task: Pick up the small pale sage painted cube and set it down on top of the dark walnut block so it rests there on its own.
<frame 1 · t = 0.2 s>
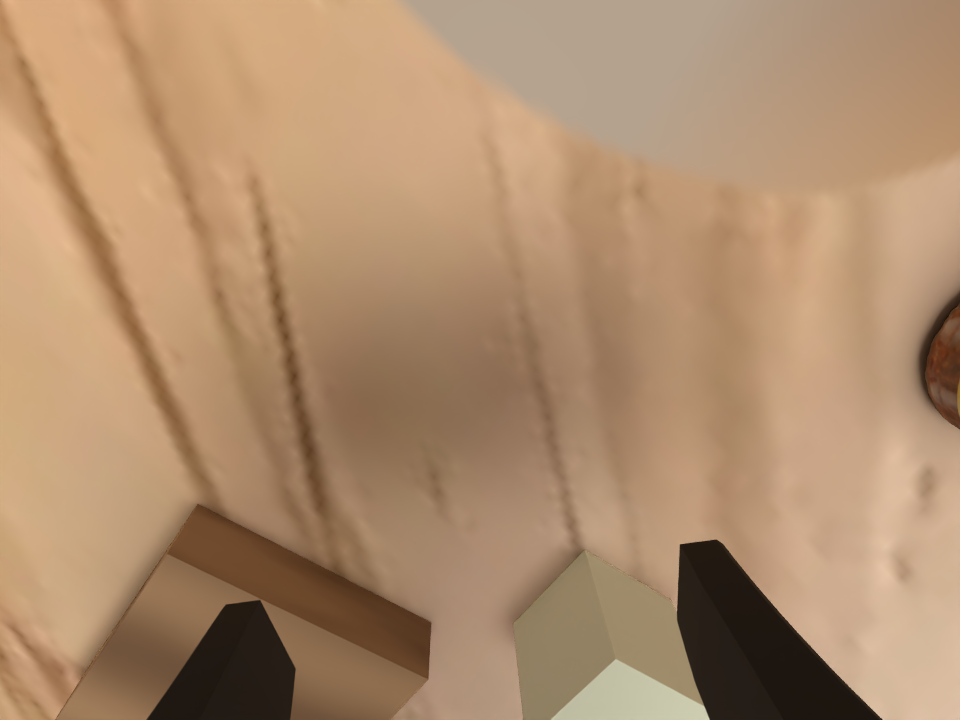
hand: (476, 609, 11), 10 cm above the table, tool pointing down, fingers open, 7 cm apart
walnut block: (259, 639, 25), on the table
sage cube: (591, 611, 25), on the table
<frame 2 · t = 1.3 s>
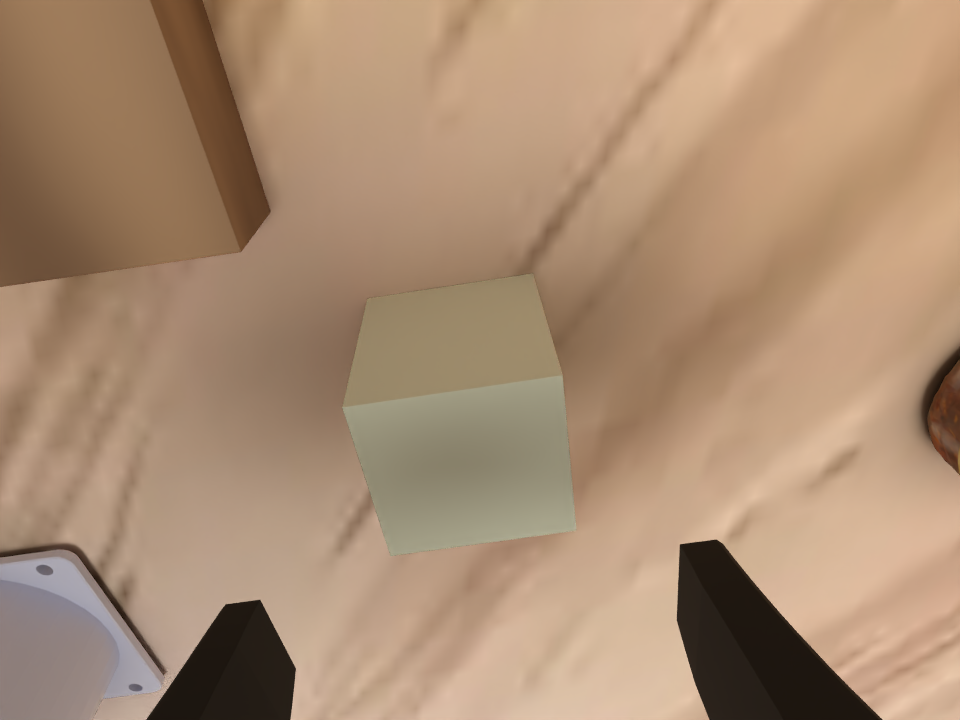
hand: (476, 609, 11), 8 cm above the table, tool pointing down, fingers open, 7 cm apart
sage cube: (462, 355, 18), on the table
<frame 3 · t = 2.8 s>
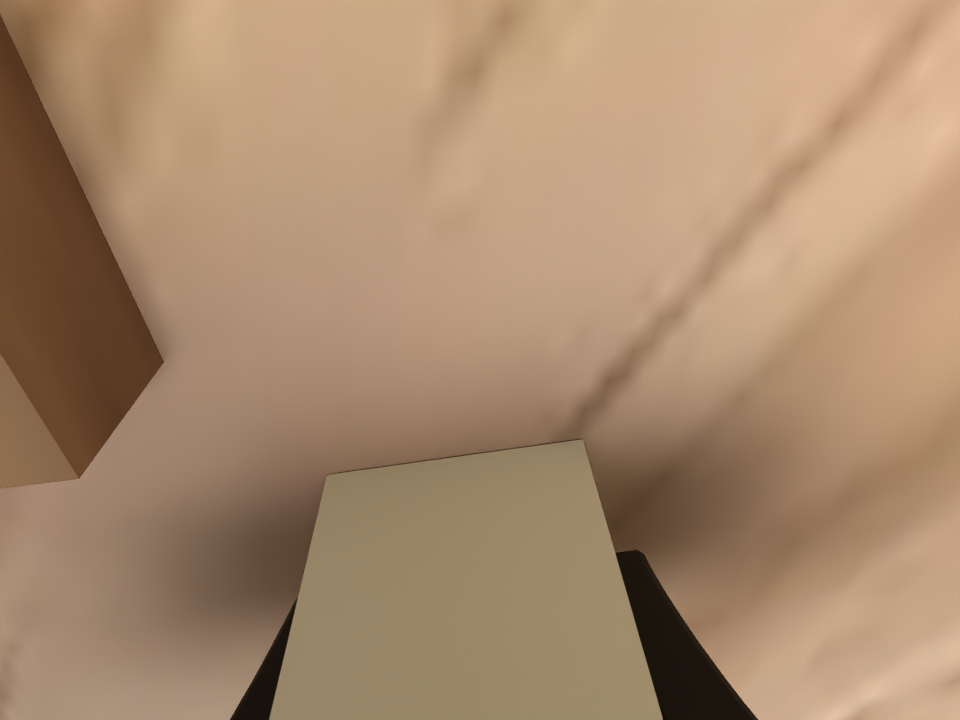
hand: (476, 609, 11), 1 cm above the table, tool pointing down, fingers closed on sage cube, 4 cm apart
sage cube: (472, 545, 12), on the table, touching gripper
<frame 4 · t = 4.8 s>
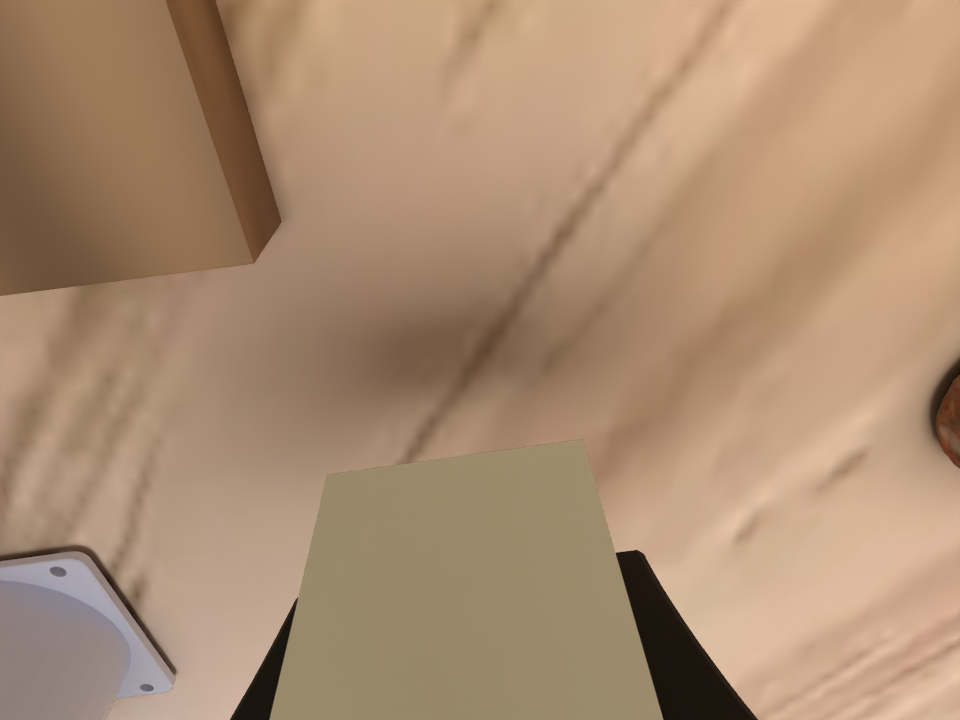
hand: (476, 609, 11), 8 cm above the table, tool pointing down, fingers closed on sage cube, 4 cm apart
sage cube: (473, 544, 12), point 7 cm above the table, touching gripper
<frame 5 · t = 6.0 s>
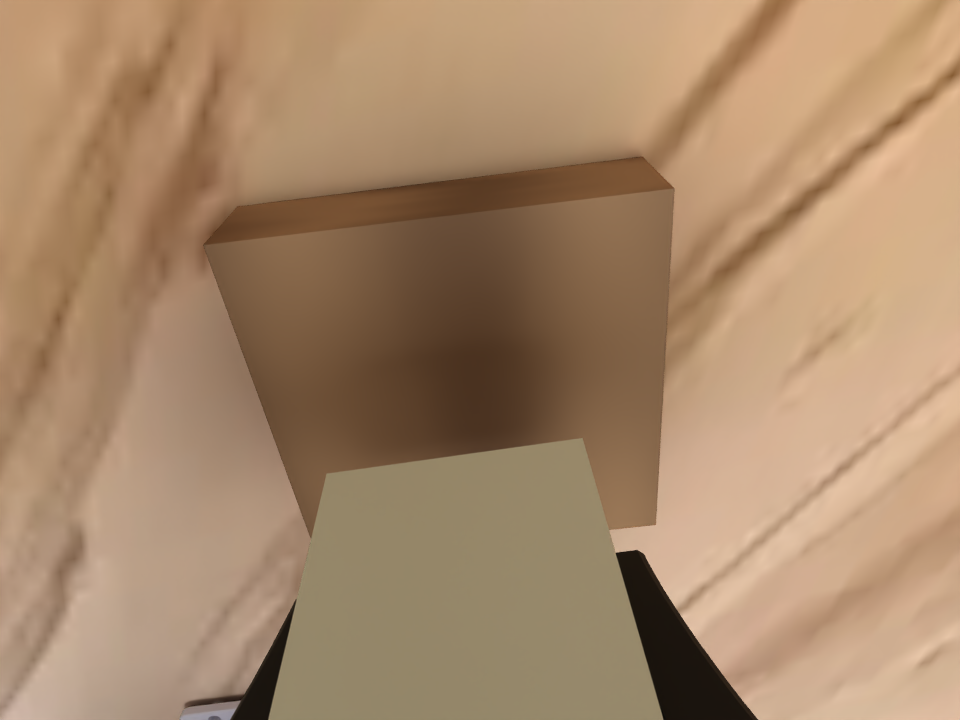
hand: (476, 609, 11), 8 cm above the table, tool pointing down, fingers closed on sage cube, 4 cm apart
walnut block: (463, 346, 18), on the table
sage cube: (472, 544, 12), point 7 cm above the table, touching gripper
when the fingers open (6 cm above the table, at t = 7.0 s): sage cube drops 2 cm, resting on walnut block.
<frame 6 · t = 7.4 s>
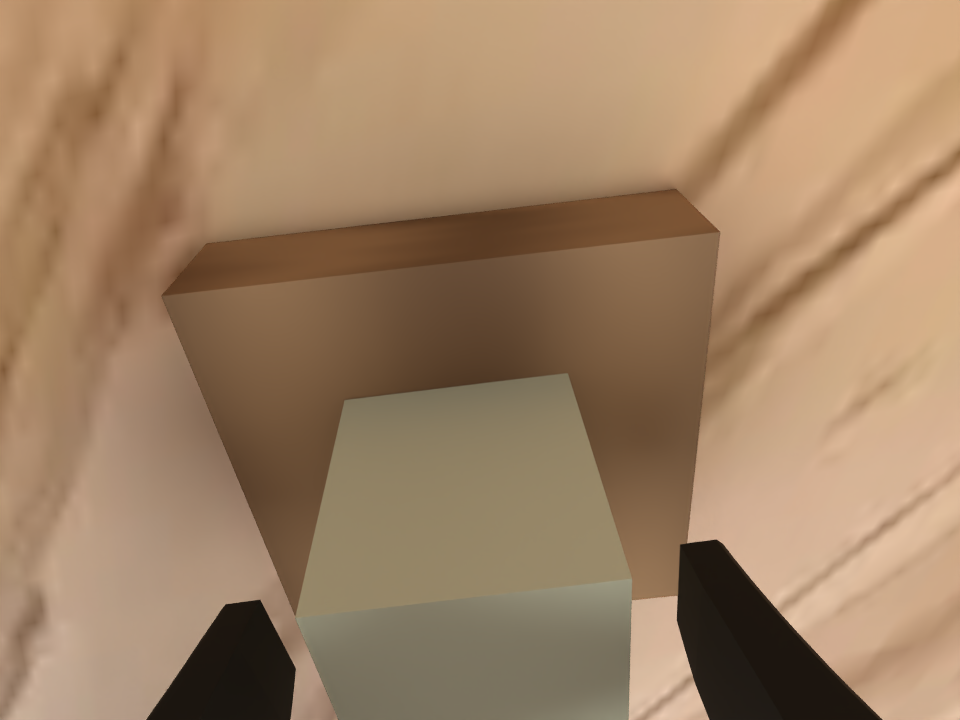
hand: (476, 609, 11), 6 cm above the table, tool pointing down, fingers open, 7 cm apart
walnut block: (466, 394, 16), on the table, touching sage cube
sage cube: (469, 470, 14), point 2 cm above the table, touching walnut block
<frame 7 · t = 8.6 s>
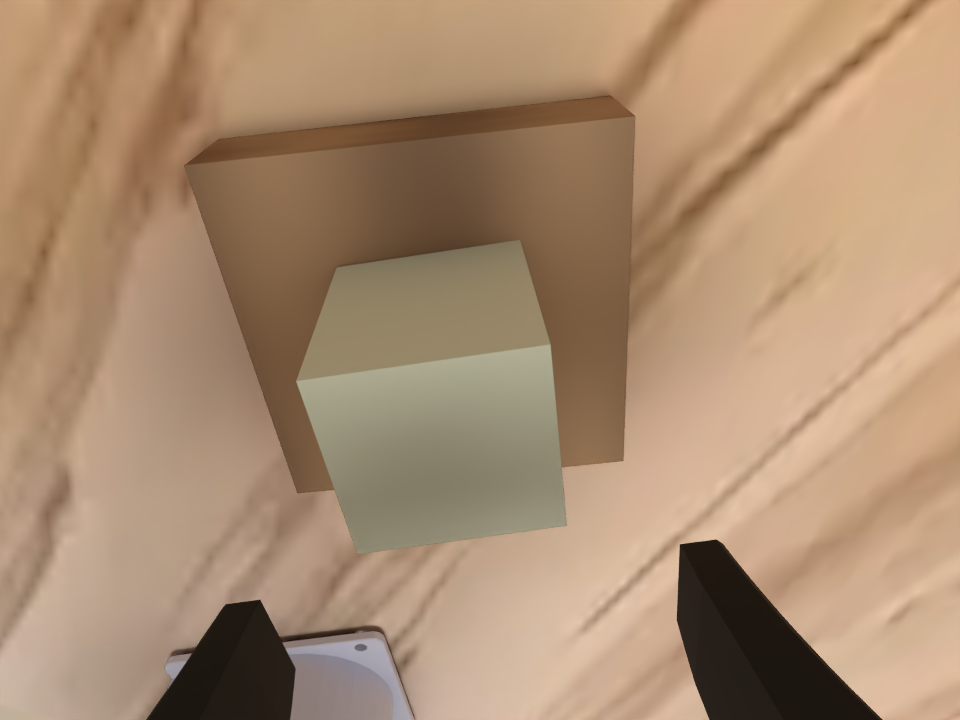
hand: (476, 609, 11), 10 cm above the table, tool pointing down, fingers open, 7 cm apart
walnut block: (439, 286, 19), on the table, touching sage cube
sage cube: (443, 333, 16), point 2 cm above the table, touching walnut block
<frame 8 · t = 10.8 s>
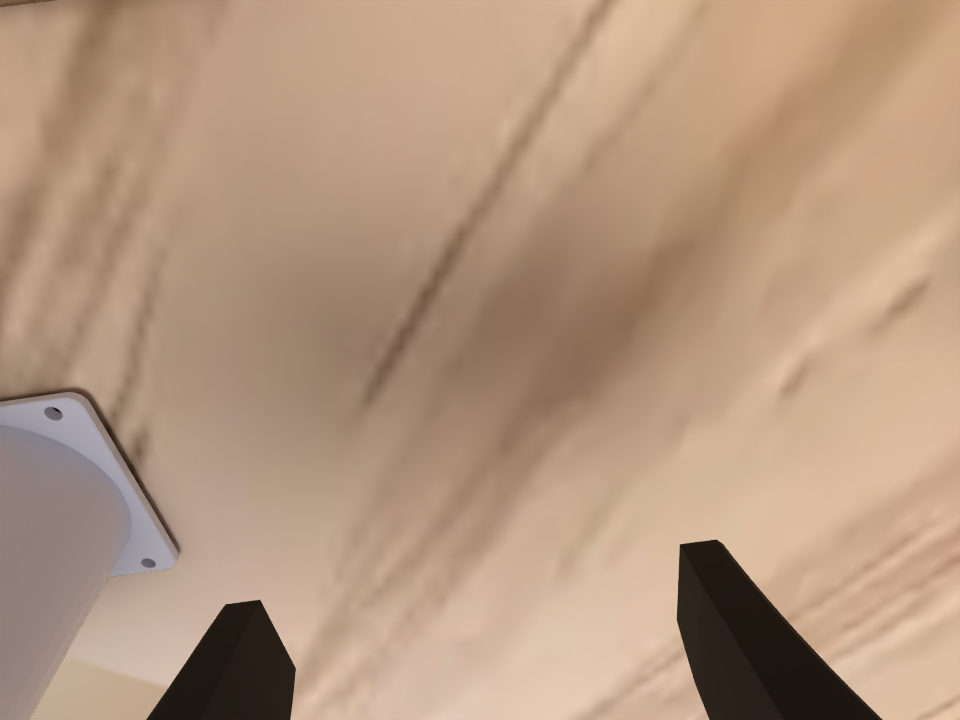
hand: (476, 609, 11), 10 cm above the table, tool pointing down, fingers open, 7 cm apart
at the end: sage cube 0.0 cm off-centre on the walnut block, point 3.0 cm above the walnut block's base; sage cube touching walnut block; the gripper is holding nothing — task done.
